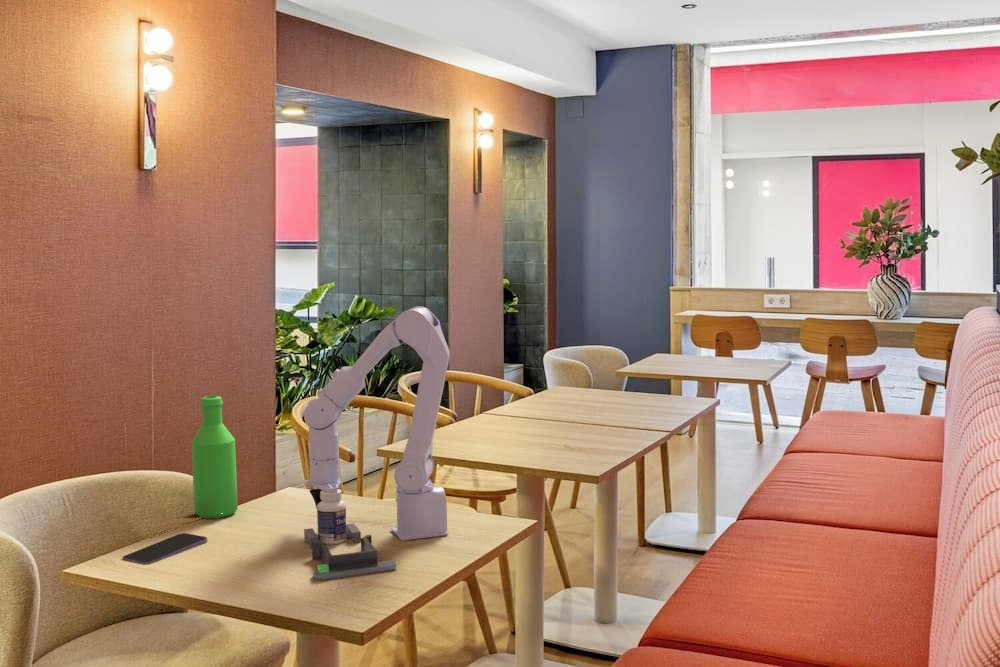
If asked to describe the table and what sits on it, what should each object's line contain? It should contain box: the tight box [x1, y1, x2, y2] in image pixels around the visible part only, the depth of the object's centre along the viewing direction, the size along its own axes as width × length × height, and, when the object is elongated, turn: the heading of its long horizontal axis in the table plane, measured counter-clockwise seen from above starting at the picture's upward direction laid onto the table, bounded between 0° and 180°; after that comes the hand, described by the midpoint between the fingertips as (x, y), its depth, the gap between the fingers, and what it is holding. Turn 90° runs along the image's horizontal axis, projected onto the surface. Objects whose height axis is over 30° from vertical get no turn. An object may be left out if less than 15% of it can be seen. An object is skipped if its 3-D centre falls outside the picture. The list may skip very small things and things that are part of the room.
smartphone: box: [122, 532, 208, 565], centre depth 183 cm, size 7×1×15 cm
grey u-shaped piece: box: [303, 523, 362, 549], centre depth 187 cm, size 10×6×2 cm, turn 111°
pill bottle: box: [316, 488, 347, 545], centre depth 187 cm, size 5×5×10 cm
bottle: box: [191, 395, 239, 519], centre depth 205 cm, size 9×9×25 cm
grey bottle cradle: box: [311, 534, 397, 582], centre depth 174 cm, size 14×12×3 cm
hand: (326, 525), depth 193 cm, fingers closed
